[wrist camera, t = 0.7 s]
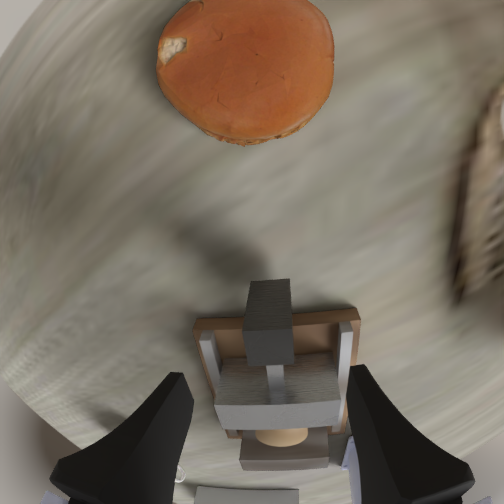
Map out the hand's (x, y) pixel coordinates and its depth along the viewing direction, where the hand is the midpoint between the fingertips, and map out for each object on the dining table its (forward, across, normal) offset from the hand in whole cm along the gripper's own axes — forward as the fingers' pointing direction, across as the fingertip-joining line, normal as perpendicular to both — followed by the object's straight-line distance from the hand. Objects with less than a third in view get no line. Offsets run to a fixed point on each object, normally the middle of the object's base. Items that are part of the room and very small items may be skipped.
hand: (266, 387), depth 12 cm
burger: (+10, 0, -14) cm, 17 cm away
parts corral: (+9, +7, +44) cm, 45 cm away
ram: (+8, 0, +3) cm, 8 cm away
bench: (+9, 0, +10) cm, 14 cm away
